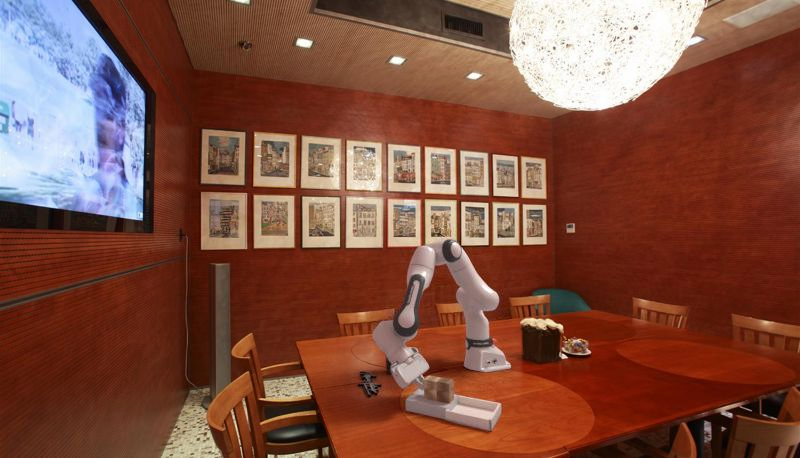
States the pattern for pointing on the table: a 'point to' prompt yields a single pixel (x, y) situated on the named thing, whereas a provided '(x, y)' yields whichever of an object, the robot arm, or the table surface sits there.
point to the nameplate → (369, 383)
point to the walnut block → (445, 390)
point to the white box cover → (428, 405)
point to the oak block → (430, 387)
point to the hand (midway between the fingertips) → (425, 388)
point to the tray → (475, 413)
